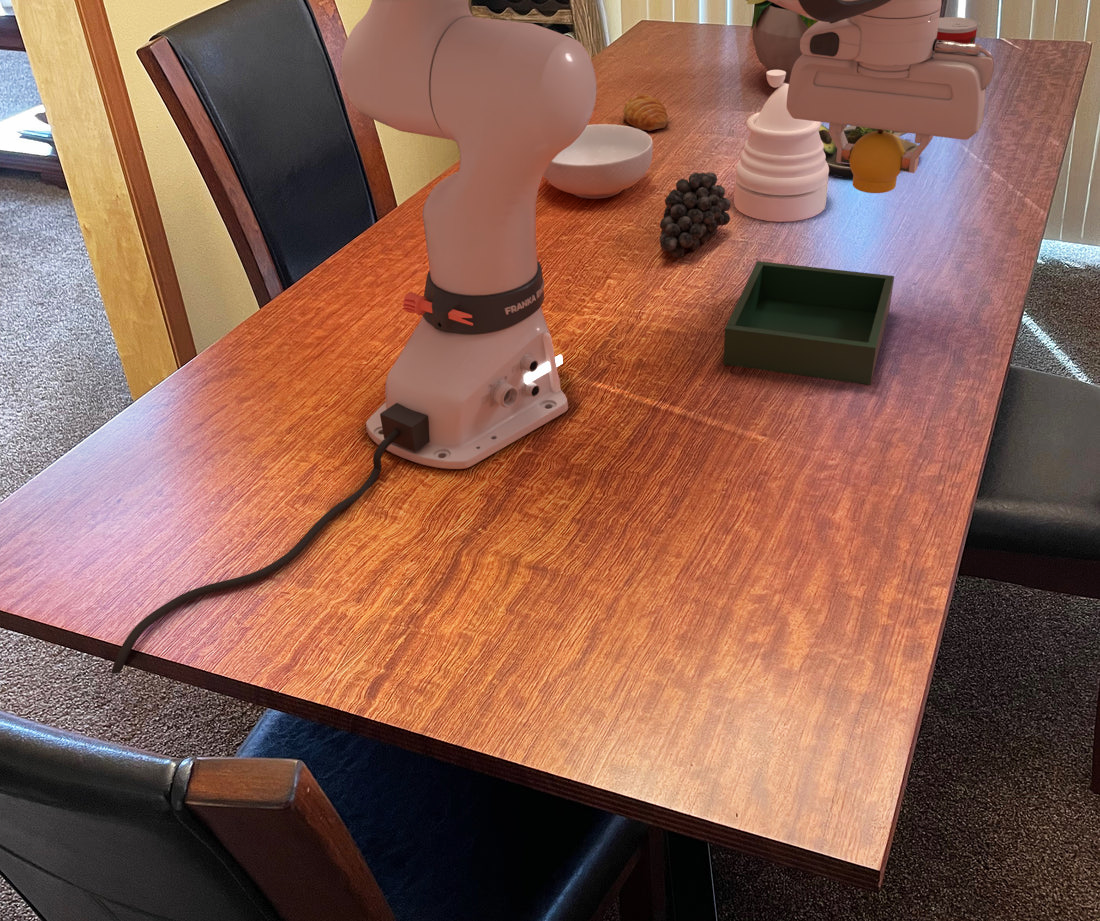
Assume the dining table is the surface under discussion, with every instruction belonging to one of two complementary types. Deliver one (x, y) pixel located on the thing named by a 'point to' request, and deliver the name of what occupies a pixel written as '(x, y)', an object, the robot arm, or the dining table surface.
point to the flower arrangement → (778, 35)
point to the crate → (809, 322)
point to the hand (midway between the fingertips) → (875, 166)
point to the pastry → (645, 113)
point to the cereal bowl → (601, 161)
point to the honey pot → (781, 163)
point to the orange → (876, 162)
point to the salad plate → (852, 137)
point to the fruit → (693, 213)
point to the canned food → (957, 30)
